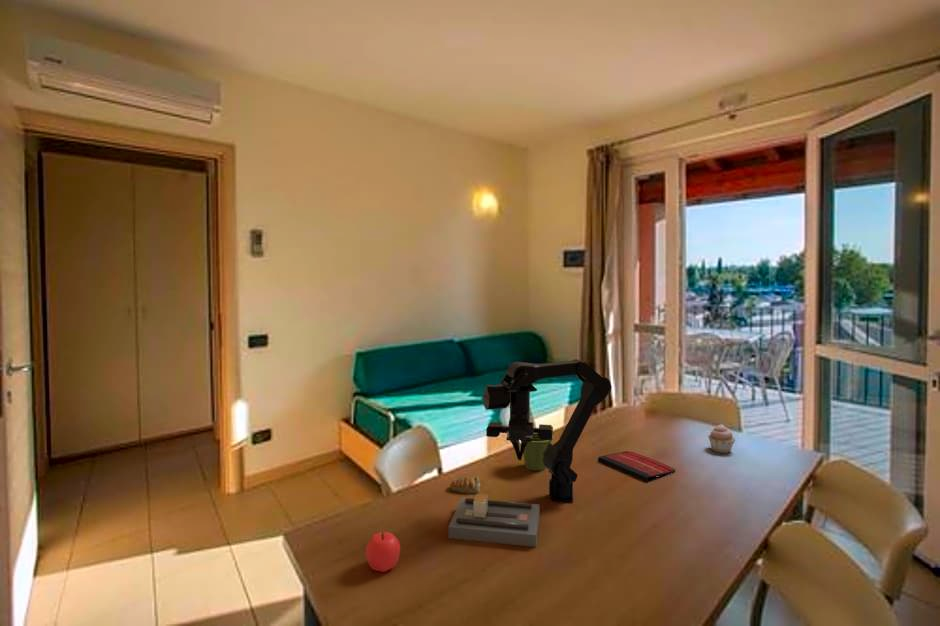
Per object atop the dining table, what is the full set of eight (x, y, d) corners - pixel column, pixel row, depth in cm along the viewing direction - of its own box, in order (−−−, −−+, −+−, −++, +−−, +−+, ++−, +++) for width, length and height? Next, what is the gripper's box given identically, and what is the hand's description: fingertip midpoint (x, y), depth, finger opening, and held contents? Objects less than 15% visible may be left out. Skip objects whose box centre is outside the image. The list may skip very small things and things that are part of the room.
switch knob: (487, 508, 132) (487, 493, 131) (484, 517, 127) (484, 502, 126) (477, 507, 132) (476, 492, 132) (473, 516, 127) (473, 501, 127)
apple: (384, 581, 107) (383, 546, 106) (358, 569, 111) (357, 535, 110) (408, 562, 113) (407, 529, 113) (382, 552, 117) (381, 520, 117)
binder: (647, 477, 154) (597, 456, 172) (646, 484, 155) (597, 462, 172) (678, 468, 163) (628, 449, 181) (678, 474, 163) (627, 455, 181)
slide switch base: (539, 514, 135) (539, 500, 134) (535, 546, 119) (535, 530, 119) (461, 508, 139) (461, 493, 139) (448, 538, 123) (448, 522, 123)
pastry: (449, 494, 148) (449, 482, 148) (450, 484, 155) (450, 473, 155) (480, 494, 148) (480, 482, 148) (480, 484, 155) (480, 473, 154)
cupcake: (736, 448, 183) (737, 422, 182) (734, 456, 175) (735, 429, 175) (708, 444, 188) (709, 418, 187) (705, 451, 180) (706, 425, 180)
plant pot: (514, 471, 164) (514, 438, 163) (524, 458, 175) (524, 428, 174) (548, 476, 160) (549, 443, 159) (556, 463, 171) (556, 432, 170)
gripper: (482, 413, 133) (483, 468, 135) (551, 416, 130) (551, 473, 131) (489, 402, 144) (489, 453, 145) (553, 405, 141) (552, 457, 142)
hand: (519, 459), depth 141 cm, fingers closed
